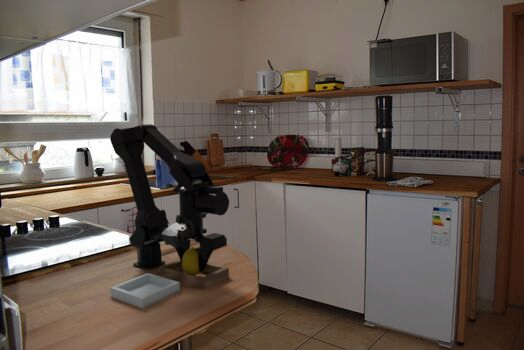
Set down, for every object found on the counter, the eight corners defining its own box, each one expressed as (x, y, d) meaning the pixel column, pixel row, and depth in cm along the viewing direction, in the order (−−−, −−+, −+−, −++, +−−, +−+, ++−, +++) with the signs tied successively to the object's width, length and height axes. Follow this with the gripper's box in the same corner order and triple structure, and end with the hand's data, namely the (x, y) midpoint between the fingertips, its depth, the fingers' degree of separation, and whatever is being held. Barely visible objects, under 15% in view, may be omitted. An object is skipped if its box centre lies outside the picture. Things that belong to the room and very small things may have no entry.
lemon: (200, 281, 110) (199, 251, 108) (179, 280, 111) (178, 250, 110) (207, 273, 115) (206, 244, 114) (187, 272, 116) (186, 243, 115)
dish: (110, 296, 101) (110, 287, 101) (148, 281, 110) (148, 272, 110) (142, 308, 95) (142, 298, 95) (179, 291, 104) (179, 282, 104)
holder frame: (158, 277, 113) (158, 267, 113) (185, 265, 121) (185, 257, 121) (202, 290, 104) (202, 280, 104) (228, 277, 112) (228, 267, 112)
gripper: (141, 212, 109) (144, 271, 111) (196, 222, 99) (198, 287, 101) (174, 204, 118) (176, 259, 120) (227, 212, 108) (228, 273, 110)
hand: (193, 269), depth 113 cm, fingers closed on lemon, 5 cm apart
